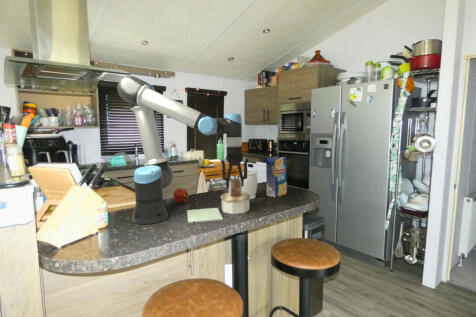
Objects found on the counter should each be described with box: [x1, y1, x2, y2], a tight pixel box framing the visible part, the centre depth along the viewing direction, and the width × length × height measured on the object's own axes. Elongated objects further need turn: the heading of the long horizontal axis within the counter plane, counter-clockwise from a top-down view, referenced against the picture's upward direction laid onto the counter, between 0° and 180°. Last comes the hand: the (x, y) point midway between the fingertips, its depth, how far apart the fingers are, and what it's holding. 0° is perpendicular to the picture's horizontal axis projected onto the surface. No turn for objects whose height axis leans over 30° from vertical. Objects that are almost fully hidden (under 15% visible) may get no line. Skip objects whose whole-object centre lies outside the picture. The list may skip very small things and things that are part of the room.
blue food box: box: [265, 156, 288, 198], centre depth 161 cm, size 7×11×22 cm, turn 134°
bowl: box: [221, 199, 250, 215], centre depth 133 cm, size 13×13×6 cm
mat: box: [186, 207, 224, 224], centre depth 125 cm, size 15×17×1 cm
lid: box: [220, 178, 251, 202], centre depth 133 cm, size 14×14×9 cm
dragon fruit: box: [172, 187, 191, 205], centre depth 148 cm, size 8×8×12 cm
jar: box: [238, 170, 258, 200], centre depth 156 cm, size 11×10×15 cm
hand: (235, 193), depth 133 cm, fingers closed on lid, 5 cm apart
